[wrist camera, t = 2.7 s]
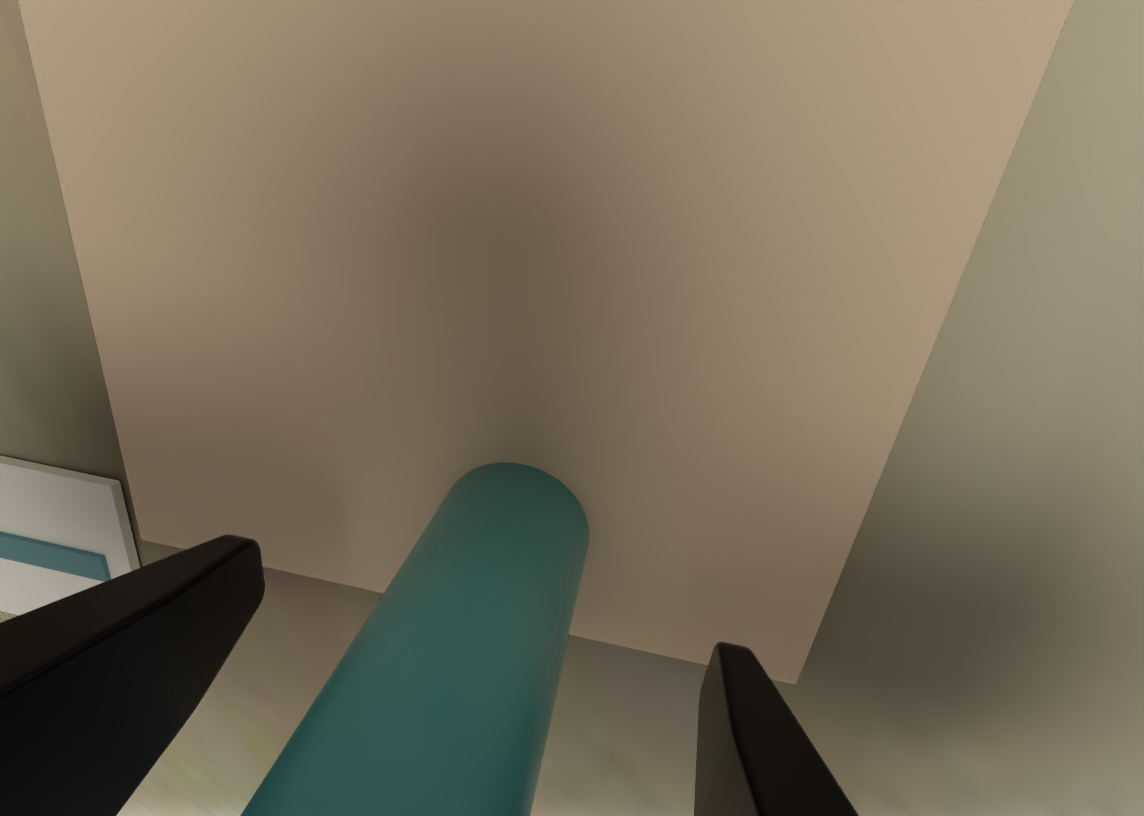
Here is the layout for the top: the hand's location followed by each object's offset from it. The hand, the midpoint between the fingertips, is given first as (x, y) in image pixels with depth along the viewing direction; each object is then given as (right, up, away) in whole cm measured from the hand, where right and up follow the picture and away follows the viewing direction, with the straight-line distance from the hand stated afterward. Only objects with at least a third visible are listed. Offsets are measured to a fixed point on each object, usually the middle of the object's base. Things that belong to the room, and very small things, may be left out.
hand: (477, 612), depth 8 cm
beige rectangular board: (0, +4, +1) cm, 4 cm away
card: (-10, 0, +4) cm, 11 cm away
